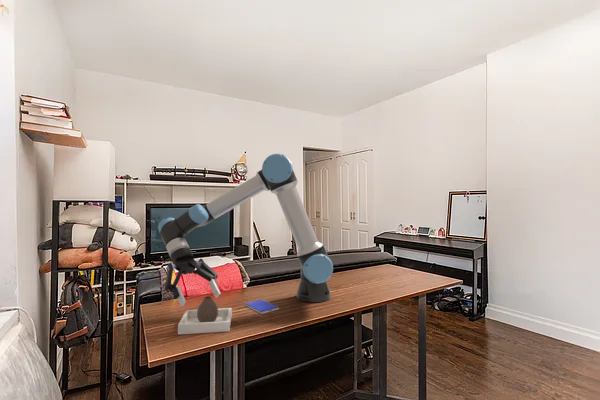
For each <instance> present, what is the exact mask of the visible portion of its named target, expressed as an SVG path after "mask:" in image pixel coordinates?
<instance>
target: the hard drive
mask: <svg viewBox="0 0 600 400" xmlns="http://www.w3.org/2000/svg"><path fill="white" fill-rule="evenodd" d="M245 307H247V308H249V309H251V310H253V311H256V312H257V313H259V314H261V315H262V314H267V313H270V312H274V311H277V310H280V307H279V306H277V305H275V304H272V303H270V302H267V301H265V300H263V299H259V300H254V301H250V302H246V303H245Z"/></svg>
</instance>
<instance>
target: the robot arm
mask: <svg viewBox="0 0 600 400" xmlns="http://www.w3.org/2000/svg"><path fill="white" fill-rule="evenodd" d="M297 185H298V179H297V177H296V174H295V171H294V169H293V163H292V161H291V159H290V158H289V157H287V155H285V154H283V153H273V154H270V155H268V156H267V157H266V158H265V159H264V161H263V162H262V165H261V169H260V170H258V171H257V172H256V175H255V176H252V177H251V178H250V179H248V180H245V181H244V182H242V183H241V184H239V185H237V186H236V187H234V188H232V189H230V190H229V191H226V192H225V193H223V194H222V195H220V196H218V197H217V198H215V199H213V200H212V201H210V202H208V203H206V204H204V205H201V204H200V203H197V204H194V205H193V206H191V207H189V209H187V210H186V211H185V212H183V213H181V214H180V215H179V216H177V217H176V218H174V217H167V218H163V219H161V221H159V223H158V225H157V229H158V232H159V236H160V237H161V240H162V243H164V246H165V248H166V250H167V253H168V255H169V257H170V260H171V262H172V263H171V262H169V263H168V264H167V266H166V267H165V268H166V269H165V270H166V278H165V285H164V290H165V291H169V292H170V293H172V295H173V297H174V298H175V299H177V302H178V303H179V306H180V307H181V308H183V307H184V306H185V305H186V303H187V300H186V299H185V296H184V293H183V292H182V289H181V287H180V285H178V284H179V281H180V279H181V277H182V275H185V276H186V275H189V274H192V273H193V274H195V275H197V276H199V277H201V278H202V279H204V280H206V281H208V282H209V283H208V285H209V287H210V289H211V291H212V293H213V295H214V297H215V299H217V298H219V296H220V295H221V294H222V293H221V291H220V289H219V283H218V282H217V279H218V277H219V274H218V273H217V272H216V271H215V270H214V269H212V268H211V266H210V265H208V264H207V263H206V262H205V261H204V259H203V258H200V259H199V260H196V259H195V258H194V254H193V252H192V250H191V248H190V246H189V244H188V242H187V240H186V237H185V236H187V235H188V234H189V233H191V232H192V231H193V230H195V229H196V228H199V227H205V226H207V225H209V224H210V223H211V222H212V221H215V220H216V219H218V218H219V217H221V216H222V215H225V214H226V213H228V212H230V211H232V210H233V209H235V208H236V207H238V206H241V205H242V204H244V203H245V202H247V201H249V200H250V199H252V198H254V197H255V196H257V195H259V194H260V193H262V192H265V191H266V192H269V191H270V193H271V194H274V195H276V197H277V200H278V203H279V205H280V208H281V209H282V212H283V215H284V217H285V220H286V222H287V225H288V227H289V229H290V232H291V234H292V235H291V236H292V237H293V239H294V242H295V245H296V247H297V252H296V256H297V259H298V262H299V263H300V264H299V265H300V279H299V285H298V287H297V290H296V298H297V300H299V301H302V302H305V303H321V302H327V301H329V300H330V299H331V290H330V286H329V284H328V280H329V279H330V278H331V277H332V275H333V272H334V264H333V262H332V261H333V260H331V258H330V257H329V255H328V250H327V246H325V245H324V243H323V242H320V241H319V240H318V238H317V236H316V235H317V234H316V233H315V229H314V228H313V226H312V223H311V221H310V218H309V215H308V213H307V211H306V208H305V206H304V203H303V201H302V199H301V196H300V193H299V190H298V188H297ZM174 270H175V271H178V272H177V274H176V276H175V277H174V280H173V283H172V279H173V273H174Z"/></svg>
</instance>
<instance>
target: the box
mask: <svg viewBox="0 0 600 400" xmlns="http://www.w3.org/2000/svg"><path fill="white" fill-rule="evenodd" d="M197 310H198V309H188V310H185V312H184V313H183V316H182V317H181V319H180V321H179V322H178V324H177V335H192V334H206V333H208V334H210V333H221V332H230V329H231V323H232V315H233V313H232V312H233V311H232V310H233V309H232V307H223V308H218V316H217V319H216V320H215V321H214V322H201V323H200V322H199V320H198V317H197Z"/></svg>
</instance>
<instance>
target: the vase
mask: <svg viewBox="0 0 600 400" xmlns="http://www.w3.org/2000/svg"><path fill="white" fill-rule="evenodd" d="M203 297H204V298H203V299H202V301H201V302H200V303H199V305H198V306H197V309H196V310H197V317H198V320H199V322H200V323H201V322H214V321H215V320H216V319H217V316H218V309H219V308H218V305H217V303H216V302H215V300H214V299H213V298H212V296H211V295H210V296H209V295H207V296H203Z"/></svg>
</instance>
